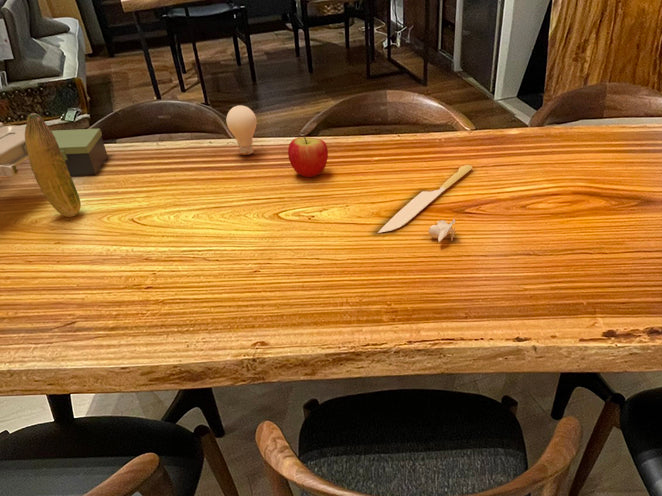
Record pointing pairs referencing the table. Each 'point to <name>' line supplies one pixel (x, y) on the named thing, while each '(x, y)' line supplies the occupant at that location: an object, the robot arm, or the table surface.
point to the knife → (421, 202)
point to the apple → (308, 155)
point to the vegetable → (50, 167)
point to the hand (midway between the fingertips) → (31, 159)
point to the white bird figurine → (442, 229)
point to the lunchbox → (81, 150)
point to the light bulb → (242, 127)
